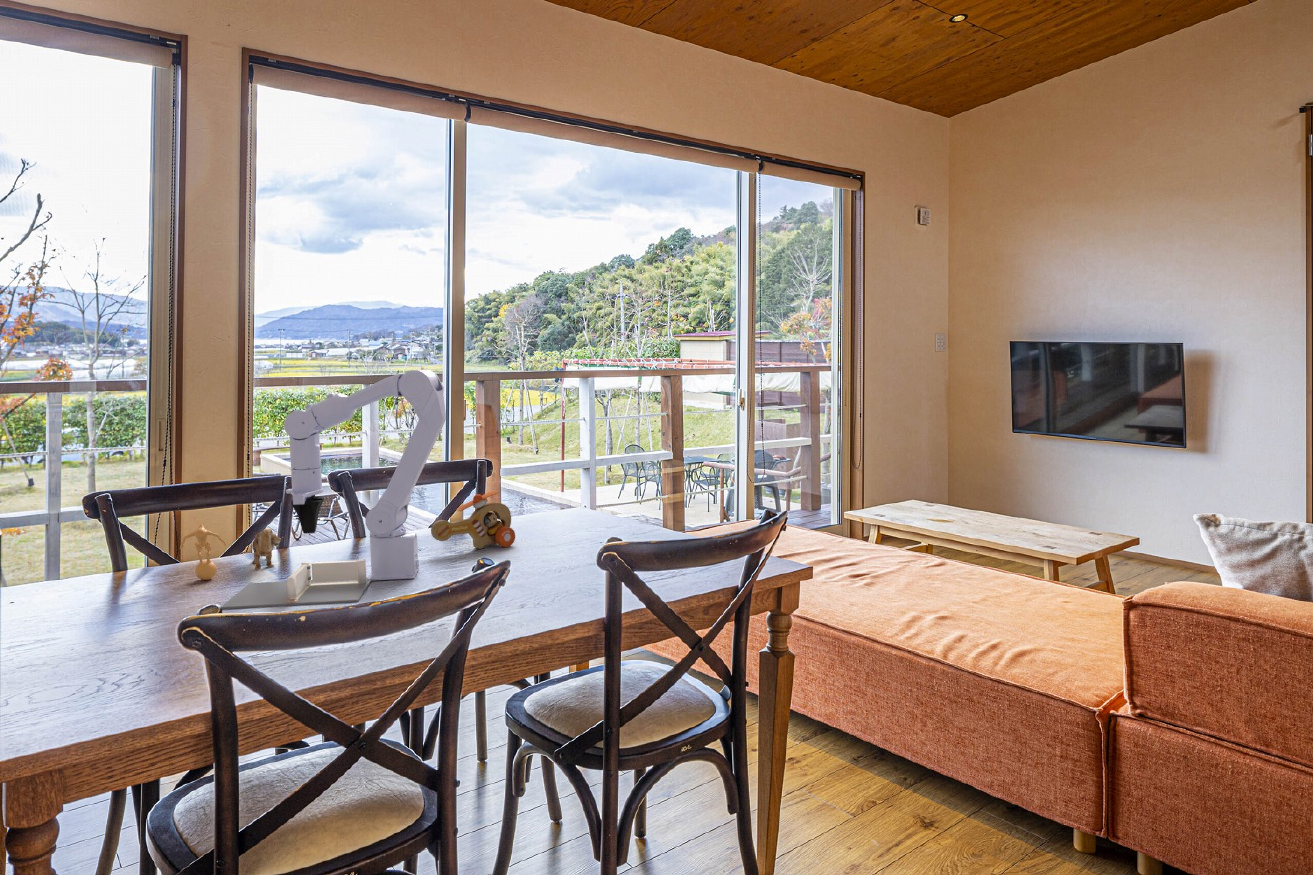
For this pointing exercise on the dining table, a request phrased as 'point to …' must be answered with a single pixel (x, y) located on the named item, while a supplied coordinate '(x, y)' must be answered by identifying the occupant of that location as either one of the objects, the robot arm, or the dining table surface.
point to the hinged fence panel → (297, 581)
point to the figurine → (204, 568)
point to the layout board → (312, 594)
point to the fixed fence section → (337, 571)
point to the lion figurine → (264, 547)
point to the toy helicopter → (480, 523)
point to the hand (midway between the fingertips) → (309, 532)
